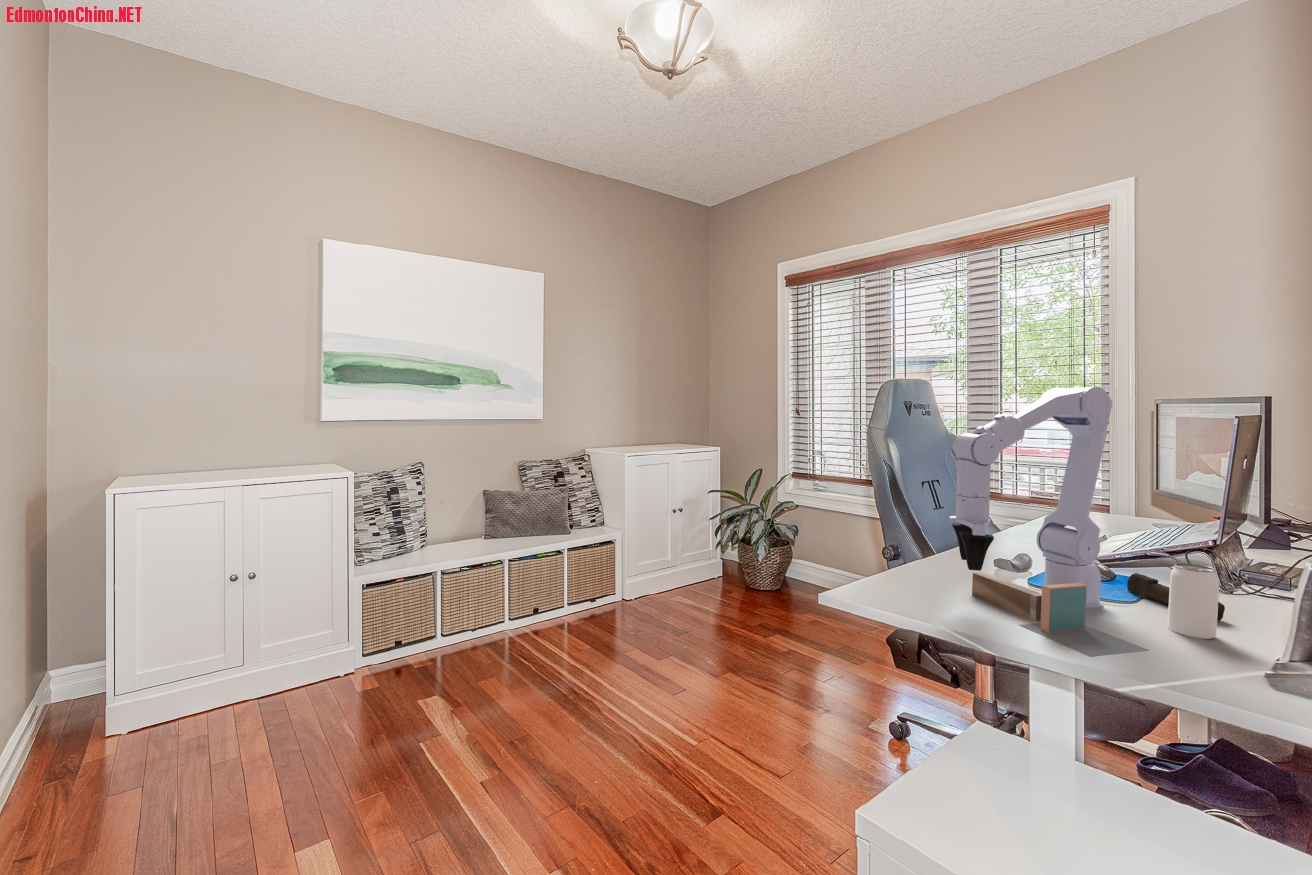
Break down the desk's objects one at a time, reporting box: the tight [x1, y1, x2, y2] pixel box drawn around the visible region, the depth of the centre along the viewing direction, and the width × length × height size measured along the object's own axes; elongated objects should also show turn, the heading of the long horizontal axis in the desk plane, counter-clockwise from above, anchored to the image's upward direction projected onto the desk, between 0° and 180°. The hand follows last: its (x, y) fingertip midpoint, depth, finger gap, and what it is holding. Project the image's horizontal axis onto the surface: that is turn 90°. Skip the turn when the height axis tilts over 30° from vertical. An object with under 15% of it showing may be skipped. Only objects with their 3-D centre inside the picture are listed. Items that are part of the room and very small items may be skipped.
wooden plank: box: [971, 571, 1042, 622], centre depth 119 cm, size 3×16×5 cm, turn 13°
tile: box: [1040, 583, 1087, 633], centre depth 107 cm, size 8×2×8 cm, turn 103°
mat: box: [1019, 622, 1149, 657], centre depth 104 cm, size 12×14×1 cm
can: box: [1167, 562, 1220, 641], centre depth 106 cm, size 6×6×12 cm
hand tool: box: [1126, 572, 1226, 622], centre depth 122 cm, size 19×4×5 cm, turn 3°
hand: (970, 564), depth 117 cm, fingers open, 7 cm apart
